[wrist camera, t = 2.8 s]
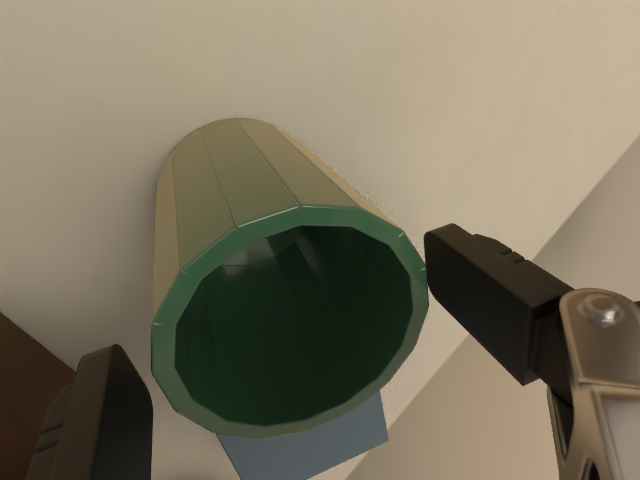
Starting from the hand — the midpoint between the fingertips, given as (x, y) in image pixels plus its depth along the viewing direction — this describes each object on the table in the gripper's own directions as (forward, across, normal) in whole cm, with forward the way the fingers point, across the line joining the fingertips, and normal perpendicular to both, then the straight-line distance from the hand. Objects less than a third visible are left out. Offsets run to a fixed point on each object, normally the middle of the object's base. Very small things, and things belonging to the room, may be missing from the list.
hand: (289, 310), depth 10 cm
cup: (+7, 0, 0) cm, 7 cm away
